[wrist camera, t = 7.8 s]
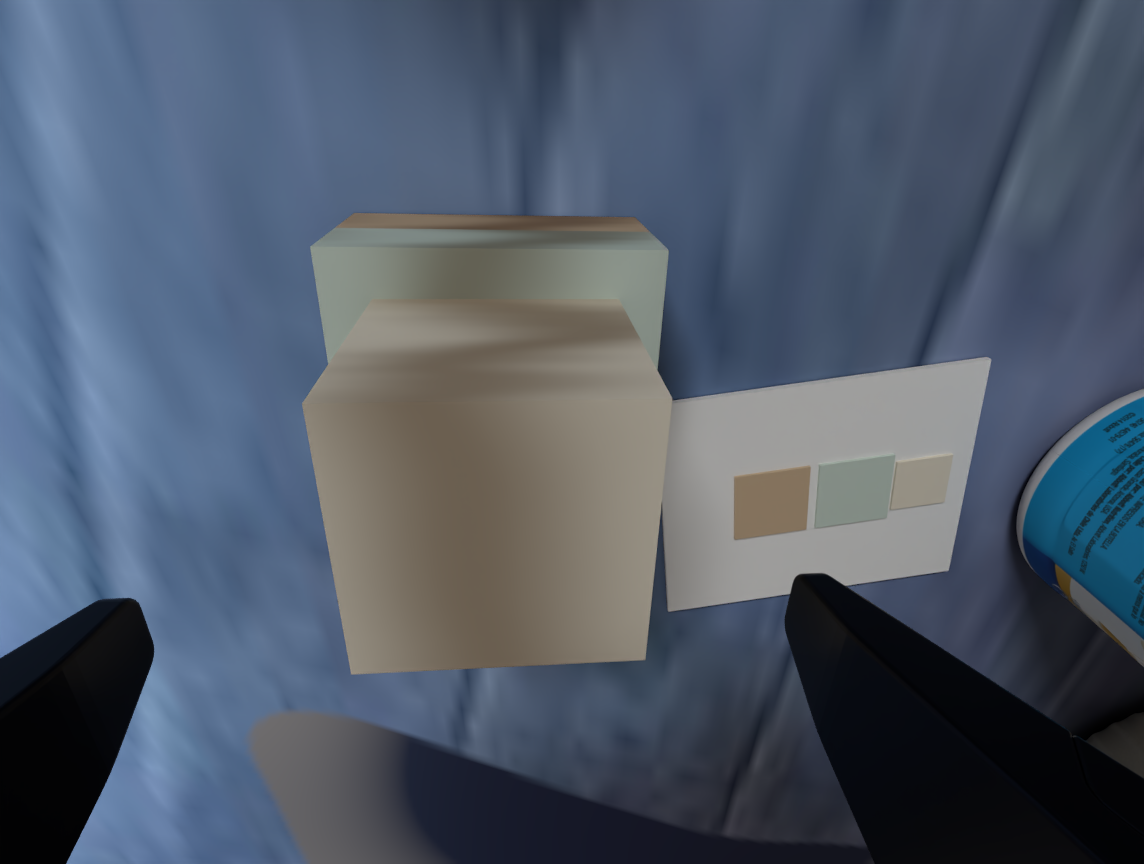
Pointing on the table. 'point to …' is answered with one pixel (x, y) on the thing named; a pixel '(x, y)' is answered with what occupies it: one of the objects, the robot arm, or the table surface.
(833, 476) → the page
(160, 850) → the table surface
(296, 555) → the table surface
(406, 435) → the beige cube
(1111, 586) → the beverage bottle
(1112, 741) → the canister
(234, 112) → the table surface
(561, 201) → the table surface
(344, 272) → the tower base
